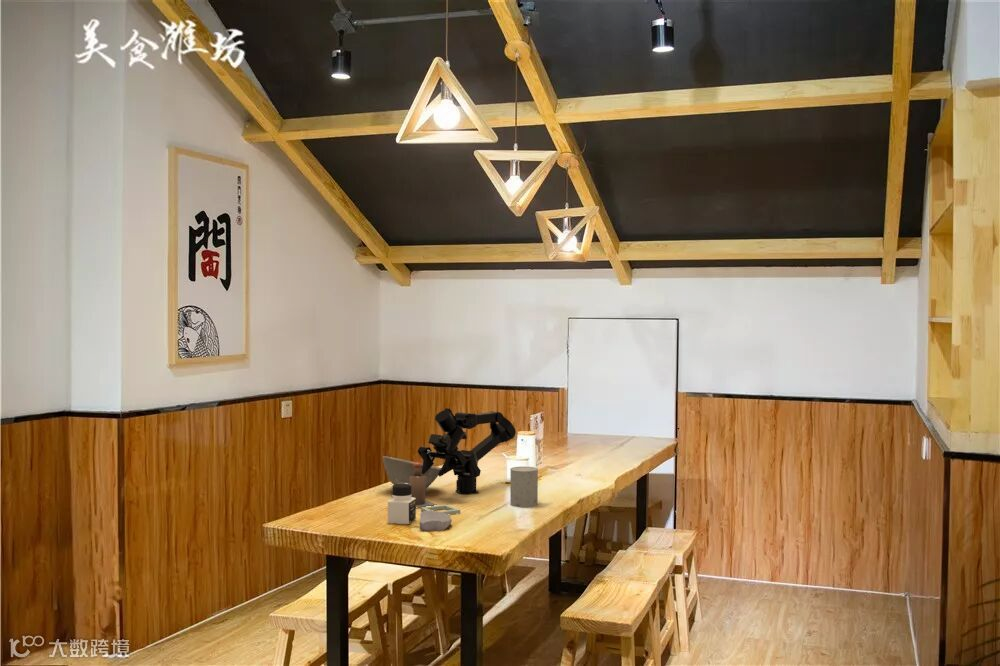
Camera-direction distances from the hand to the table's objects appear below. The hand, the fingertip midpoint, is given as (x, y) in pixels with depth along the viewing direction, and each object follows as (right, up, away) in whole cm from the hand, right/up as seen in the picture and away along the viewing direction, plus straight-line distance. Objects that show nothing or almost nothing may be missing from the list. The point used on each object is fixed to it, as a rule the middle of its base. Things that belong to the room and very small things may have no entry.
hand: (430, 474), depth 314 cm
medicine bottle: (-7, -10, -30) cm, 32 cm away
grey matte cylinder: (+32, -10, -4) cm, 34 cm away
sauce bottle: (-4, -9, -5) cm, 11 cm away
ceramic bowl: (-10, -8, +16) cm, 20 cm away
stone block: (+4, -11, -36) cm, 38 cm away
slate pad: (-4, -10, -5) cm, 12 cm away
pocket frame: (+5, -10, -16) cm, 20 cm away
